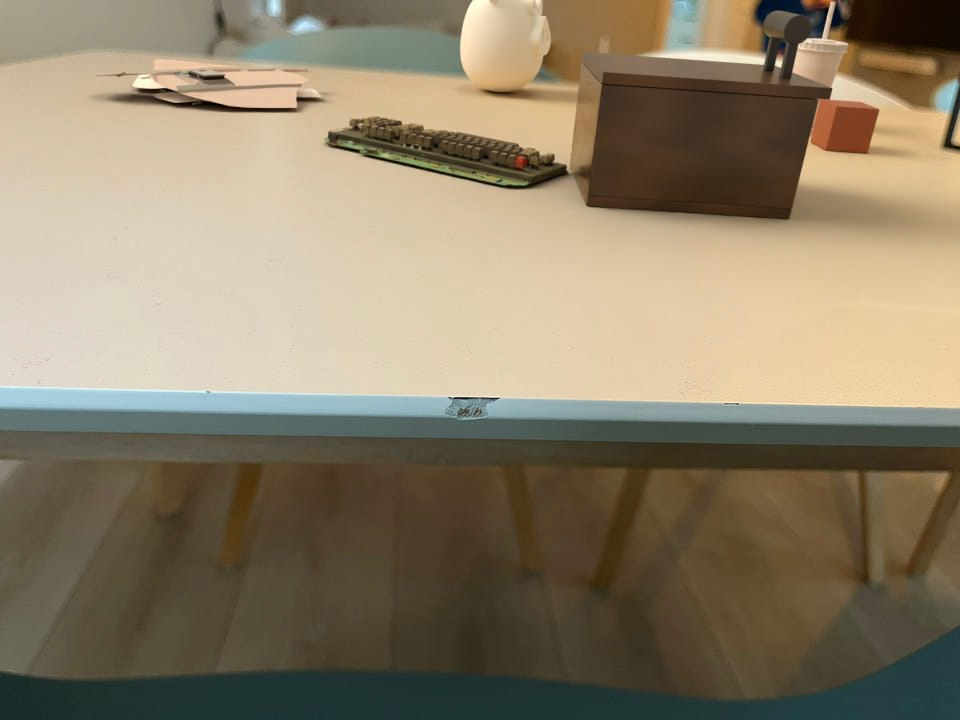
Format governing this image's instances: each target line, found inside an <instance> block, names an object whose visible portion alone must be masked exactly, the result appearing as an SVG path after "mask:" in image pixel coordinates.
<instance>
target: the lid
mask: <svg viewBox="0 0 960 720" xmlns="http://www.w3.org/2000/svg"><path fill="white" fill-rule="evenodd" d="M762 27H763V32H764V34H765V35H766V36H767V37H768V38H769V39H768V44H767V48H766V52H765V53H766V54H765V58H764V63H763V64H758V63H745V62H743V63H742V62H729V61H719V60H718V61H716V60H702V59H688V58H674V57H660V56H646V55H631V54H620V53H619V54H618V53H606V52H605V53H604V52H593V51H591V52H589V51H583V52H582V56H581V63H584V65H585V66H586V67H587V68H588V69H589V70H590V71H591V72H592V73H593V74H594V75H595V76H596V78H597V79H598V80H599V81H600V82H601V83H602V84H614V85H628V86H642V87H656V88H671V89H685V90H699V91H713V92H727V93H742V94H756V95H770V96H784V97H799V98H813V99H827V100H831V97H832V92H833V87H828V86H826V85H823V84H821V83H818V82H816V81H813V80H810V79H808V78H805V77H803V76H800V75H798V74H795V73H793V72H792V71H793V67H794V62H795V58H796V54H797V49H798V45H799V44H800V43H802V42H804V41H805V40H806V39H807V38H809V37H810V35H811V32H812V28H813V27H812V23H811V21H810V18H808V17H807V16H805V15H803V14H797V13H793V12H788V11H783V10H774V11H771V12H770V13H769V14H768V15H767V16H765V19H764V21H763V26H762ZM781 42H783V43H785V49H784V53H783V58H782V60H781V61H782V62H781V65H780V66H777V65H776V62H777V57H778V52H779V48H780V43H781Z"/></svg>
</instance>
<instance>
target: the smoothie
mask: <svg viewBox="0 0 960 720" xmlns="http://www.w3.org/2000/svg"><path fill="white" fill-rule="evenodd" d="M836 2H837V1H830V3H829V8H828V12H827V15H826V21H825V24H824V29H823V33H822V37H821V38H817V37H816V38H815V37H812V38H809V37H808V38H807V39H806V40H805V41H804V42H802V43H800V44H799V45H798V49H797V54H796V58H795V62H794V67H793V71H792V72H793V73H795V74H798V75H800V76H803V77H805V78H808V79H810V80H813V81H816V82H818V83H821V84H823V85H826V86H828V87H831V88H833V87H832V86H833V83H834V81H835V78H836V76H837V72H838V71H839V68H840V65H841V62H842V60H843V57H844V54H847V53H848V48H849V43H847V42H844V41H838V40H835V39H831V38H830V39H829V38H828V37H829V32H830V27H831V24H832V20H833V16H834V11H835V7H836ZM820 100H821V99H818V104H817V108H816V112H815V116H814V121H813V125H812V128H814V124H815V120H816V116H817V112H818V108H819V104H820ZM826 100H827V99H826Z"/></svg>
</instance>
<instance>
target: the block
mask: <svg viewBox="0 0 960 720" xmlns="http://www.w3.org/2000/svg"><path fill="white" fill-rule="evenodd" d="M879 113H880V108H878V107H876V106H872V105H870V104H867V103H865V102H862V101H855V100H837V99H830V100H826V99H821V100H820V104H819V108H818V112H817V116H816V120H815V124H814V127H812V128H813V129H812V131H811V132H812V133H811V135H810V143H813V144H814V145H816V146H818V147H819V148H821V149H823V150H824V151H830V152H843V153H844V152H845V153H857V154H859V153H860V154H868V153H869V150H870V146H871V142H872V138H873V135H874V132H875V127H876V124H877V120H878V117H879Z"/></svg>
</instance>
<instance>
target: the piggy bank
mask: <svg viewBox="0 0 960 720" xmlns="http://www.w3.org/2000/svg"><path fill="white" fill-rule="evenodd" d="M543 1H544V0H472V1H471V2H470V4H469V6H468V8H467V10H466V13H465V16H464V19H463V23H462V26H461V27H462V28H461V33H460V42H459V43H460V44H459V55H460V61H461V66H462V69H463V71H464V73H465V75H466V76H467V78H468V79H469V80H470V81H471V82H473V84H475V85H476V86H478V87H479V88H481V89H483V90H487V91H490V92H494V93H508V92H514V91H517V90H519V89H522V88H524V87H525V86H527V85H528V84H530V83H531V82H532V81H533V80H534V79H536V77H537V75H538V74H539V72H540V70H541V67H542V65H543V59H544V56H546V55H548V53H549V51H550V48H551V43H552V37H551V30H550V25H549V21H548V18H547V16H546V15H542V14H543V8H544V7H543V6H544V3H543Z"/></svg>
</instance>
